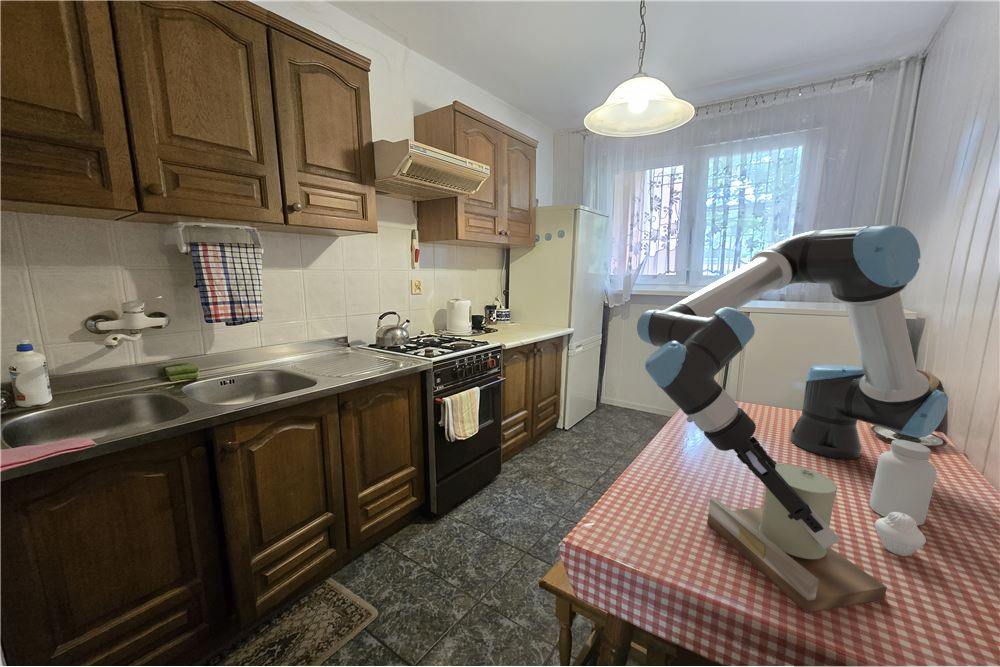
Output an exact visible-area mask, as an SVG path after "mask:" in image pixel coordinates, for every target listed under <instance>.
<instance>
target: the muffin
mask: <svg viewBox="0 0 1000 667" xmlns="http://www.w3.org/2000/svg"><path fill="white" fill-rule="evenodd" d="M874 526H875V529H876V533H877V535H878V538H879V540H880V541H881V545H882V546H883V547H884V549H885V550H887V551H889V552H890V553H893V554H895V555H897V556H901V557H909V556H910V555H912V554H914V553H916V552H917V551H918V550H920V549H921V548H922V547H923V546H925V544H926V542H927V540H926V537H925V535H924V534H923V532H922V531H921V530H920V529H919V527H918V526H917V523H916V521H915V520H914V519H913V518H911V517H910V516H908V515H906V514H903V513H900V512H891V513H889V514H888V516H887V517H881V518H878V519H877V520H876V521H875V522H874Z"/></svg>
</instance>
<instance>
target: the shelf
mask: <svg viewBox="0 0 1000 667" xmlns="http://www.w3.org/2000/svg"><path fill="white" fill-rule="evenodd" d="M762 513H763V506H762V507H752V508H744V509H735V510H732V509H731V508H729V506H727V505H725V503H723V502H722V501H720V500H719V499H718V498H717V497H710V498H709V505H708V514H707V524H708V525H709V526H711V528H712V529H713V530H715V531H716V532H717V533H718V534H719V536H721V537H722V538H723V539H724V540H726V542H728V543H729V544H730V545H731V546H732V547H733V548H735V549H736V551H738V552H739V554H741V555H742V556H743V557H744V558H745V559H747V561H749V562H750V563H751V565H753V566H754V567H755V568H756V569H758V571H760V573H761V574H762V575H764V576H765V577H766V578H769V581H770V582H771V583H773V585H775V584H776V585H775V586H776V587H777V588H778V587H779V588H780V591H781V592H783V594H785V595H786V596H787V595H788V596H789V597H790V598H791V599H792V600H791V601H792V602H793V603H795V604H796V605H797V606H798V607H799V608H800V609H801V608H802V611H803V612H805V613H806V614H807V613H812V612H813V613H814V612H818V611H823V610H829V609H835V608H836V609H837V608H840V607H841V608H842V607H846V606H852V605H858V604H862V603H869V602H874V601H879V600H885V598H886V593H887V589H888V587H887V586H886V585H885V584H883V583H882V582H880V581H879V580H878V579H876V578H875V577H873V576H872V575H870V574H869V573H867V572H866V571H865V570H863V569H861V567H859V566H857V565H856V564H854V563H853V562H852V561H850V560H848V558H846V557H845V556H843V555H842V554H841V553H838V552H837V551H836V550H834V549H833V548H832V547H831V546H829V547H827V548H826V550H827V552H826V555H825V556H824V557H823V558H820V559H804V558H800V557H796V556H793V555H790V554H788V553H785V552H783V551H782V550H781V549H780V548H778V547H777V546H776V545H775V544H773V543H772V542H771V541H770V540H768V539H767V538H766V537H765V536H763V535H762V534H761V533H760V531H759V526H760V524H761V518H762ZM779 588H778V589H779ZM788 596H787V597H788ZM789 597H788V598H789ZM790 598H789V599H790Z"/></svg>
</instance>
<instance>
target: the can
mask: <svg viewBox="0 0 1000 667" xmlns="http://www.w3.org/2000/svg"><path fill="white" fill-rule="evenodd" d="M775 465H776V467H775V469H776V471H777V472H778V473H779V474H780V475H781V476H782V477H783V479H784V480H785V481H786V482H787V483H788V484H789V485H790V487H791V488H792V489H793V490H794V491H795V492H796V493H797V494H798V496H799V497H800V498H801V499H802V500H803V501H804V502H805V504H807V505H809V506H810V507H811V508H812V509H813V510H814V511H815V512H816V513H817V514H818V515H819V517H820V518H821V519H822V520H823V521H824V522H825V523H826V524H827V525H828V526H829V527H830V526H831V525H830V524H831V520H832V516H833V515H832V513H833V508H834V505H835V504H834V503H835V499H836V495H837V494H836V493H837V491H838V487H837V486H838V485H837V484H836V483H835V482H834V480H832V479H830V478H829V477H828V476H826V475H824V474H822V473H820V472H817V471H815V470H813V469H810V468H806V467H803V466H799V465H796V464H789V463H777V464H775ZM762 507H763V513H762V518H761V524H760V526H759V531H760V533H761V534H762V535H763V536H765V537H766V538H767V539H768V540H770V541H771V542H772V543H773V544H775V545H776V546H777V547H778V548H780V549H781V550H782V551H783V552H785V553H788V554H790V555H793V556H796V557H800V558H804V559H820V558H823V557H824V556H825V555H826V552H827V550H826V548H825V549H824V548H823V547H822V546H821V545H820V543H819V542H818V541H817V540H816V539H815V538H814V537H813V536H812V535H811V534H810V533H809V532H808V531H807V529H806V528H805V527H804V526H803V525H802V524H801V523H800V522H799V521H796V520H795V519H794V518H793V519H790V518H789V517H788V515H789V514H790V513H789V512H788V511H787V509H786V508H785V507H784V506H783V505H782V504H781V503H780V502H779V500H778V499H777V498H776V497H775V496H774V495H773V494H772V493H771V491H770V490H769V489H768V488H767V487H766V486H765V493H764V500H763V506H762Z"/></svg>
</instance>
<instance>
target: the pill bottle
mask: <svg viewBox="0 0 1000 667" xmlns="http://www.w3.org/2000/svg"><path fill="white" fill-rule="evenodd" d="M931 454H932V450H931V449H930V448H929V447H928V446H925V445H924V444H921V443H918V442H914V441H910V440H906V439H893V440H892V441H891V443H890V450H889V451H885V452H882V453H881V454H880V455H879V457H878V460H877V466H876V470H875V475H874V479H873V483H872V489H871V494H870V499H869V506H870V508H871V510H873V511H874V512H875V513H877V514H879V515H880V516H882V518H885V517H887V516H888V514H889V513H891V512H900V513H903V514H906V515H908V516H910V517H911V518H913V519H914V520H915V521H916V523H917V527H918V526H919V525H920V526H922V525H924V523H925V522H926V519H927V515H928V512H929V511H928V510H929V506H930V503H931V499H932V494H933V490H934V486H935V483H936V478H937V468H936V466H935V465H934V464H933V463H932V462H930V461H929V460H930V456H931Z"/></svg>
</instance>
